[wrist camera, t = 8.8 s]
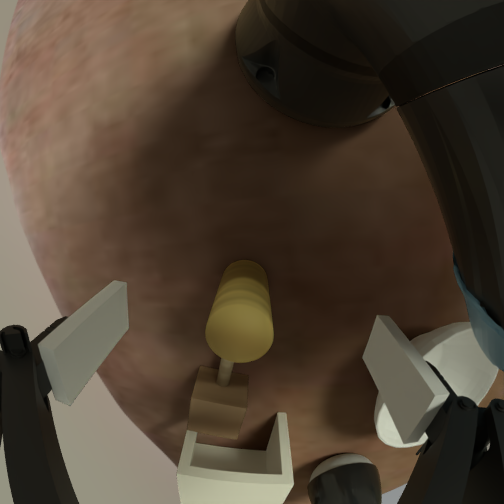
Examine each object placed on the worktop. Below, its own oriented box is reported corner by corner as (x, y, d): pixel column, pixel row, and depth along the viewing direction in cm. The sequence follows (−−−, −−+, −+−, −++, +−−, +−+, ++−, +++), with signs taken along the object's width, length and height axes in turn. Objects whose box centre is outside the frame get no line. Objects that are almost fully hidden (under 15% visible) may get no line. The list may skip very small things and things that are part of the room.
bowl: (335, 350, 27) (354, 396, 20) (459, 269, 25) (500, 292, 18) (377, 426, 30) (393, 464, 23) (474, 362, 28) (500, 390, 21)
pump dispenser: (297, 480, 33) (305, 559, 19) (315, 445, 31) (332, 540, 16) (356, 476, 34) (374, 547, 19) (381, 440, 31) (413, 521, 16)
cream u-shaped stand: (194, 402, 29) (176, 473, 19) (286, 412, 29) (293, 484, 19) (193, 445, 31) (181, 506, 21) (272, 454, 31) (275, 515, 21)
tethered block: (220, 254, 24) (202, 296, 16) (278, 266, 25) (289, 314, 16) (194, 398, 29) (179, 459, 20) (238, 407, 29) (234, 470, 20)
